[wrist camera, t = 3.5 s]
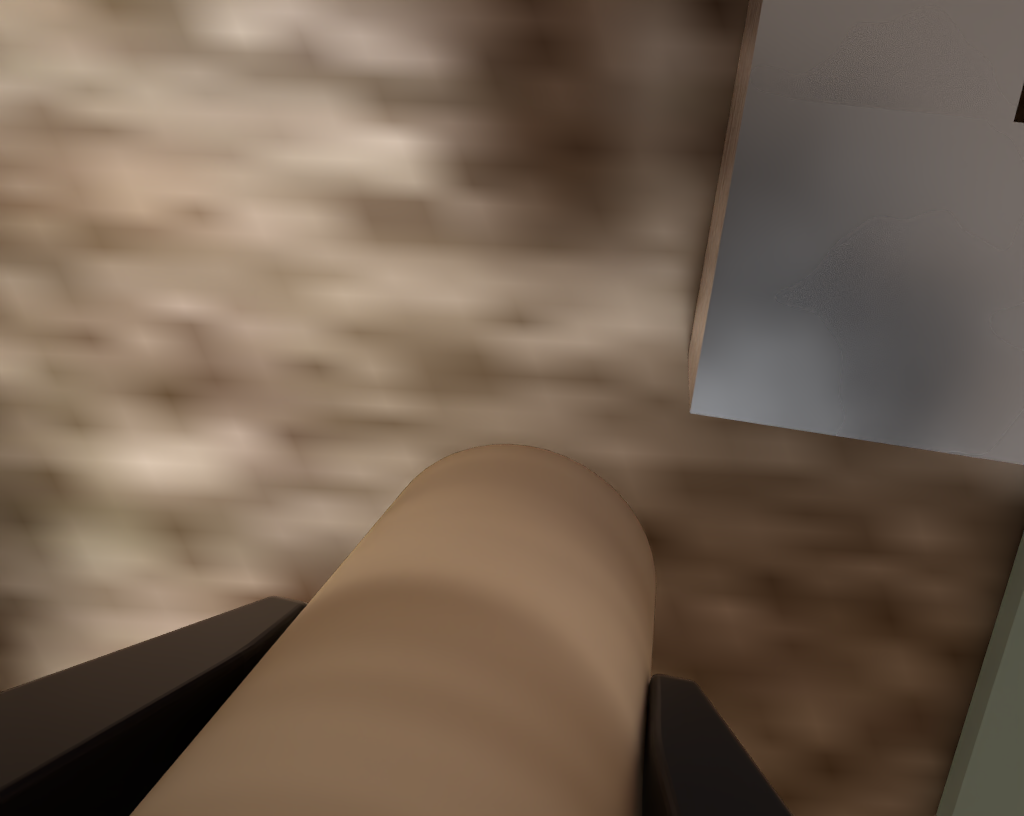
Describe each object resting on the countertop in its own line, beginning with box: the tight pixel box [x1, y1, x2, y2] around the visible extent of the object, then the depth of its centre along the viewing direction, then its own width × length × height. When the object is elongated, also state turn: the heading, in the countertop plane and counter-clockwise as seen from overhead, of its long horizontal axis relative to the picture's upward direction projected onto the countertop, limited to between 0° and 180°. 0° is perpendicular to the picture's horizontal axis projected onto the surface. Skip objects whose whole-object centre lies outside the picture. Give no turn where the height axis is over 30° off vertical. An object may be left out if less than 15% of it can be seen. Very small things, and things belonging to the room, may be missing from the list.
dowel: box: [129, 444, 656, 816], centre depth 7 cm, size 3×3×7 cm
